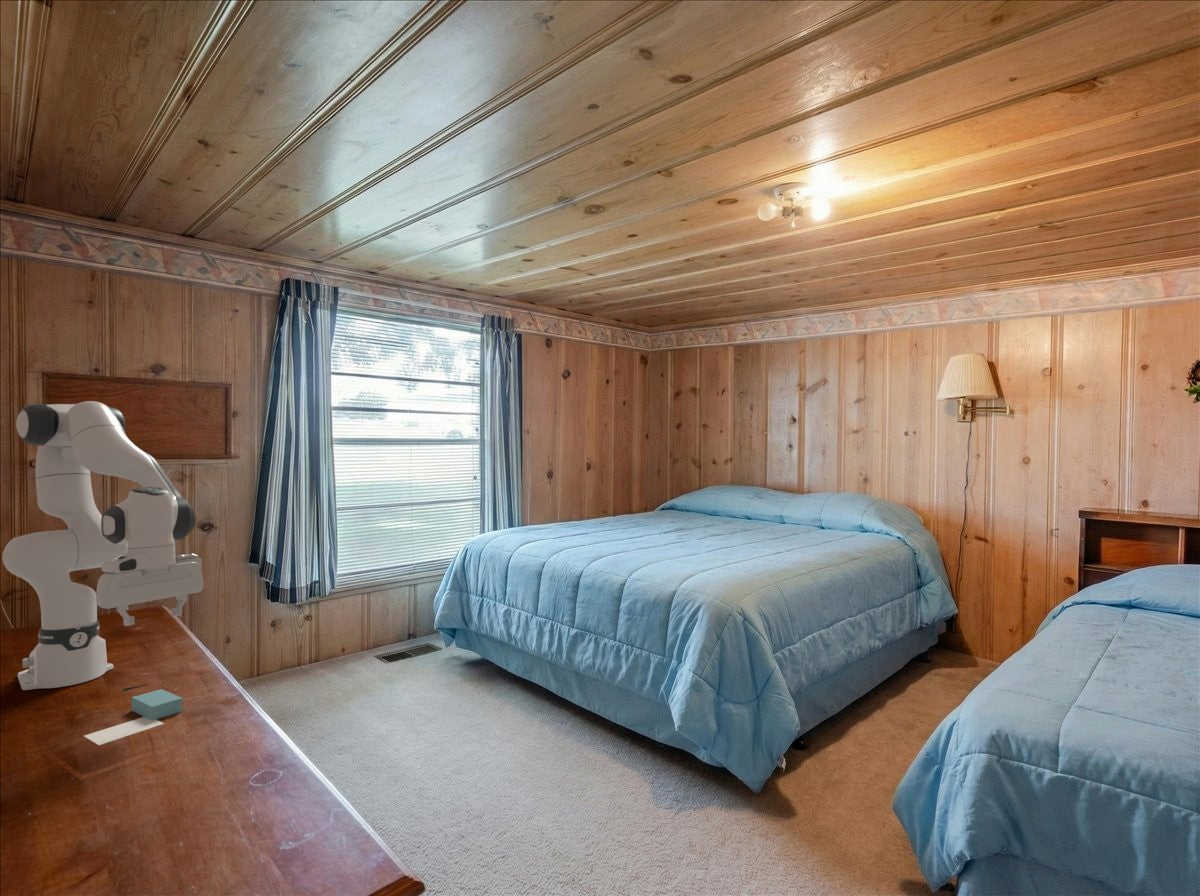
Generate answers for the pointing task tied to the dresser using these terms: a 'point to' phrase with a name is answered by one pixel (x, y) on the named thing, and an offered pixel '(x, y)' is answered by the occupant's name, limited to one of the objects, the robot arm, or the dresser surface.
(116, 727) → the mat
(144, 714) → the teal rectangular block
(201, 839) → the dresser surface
